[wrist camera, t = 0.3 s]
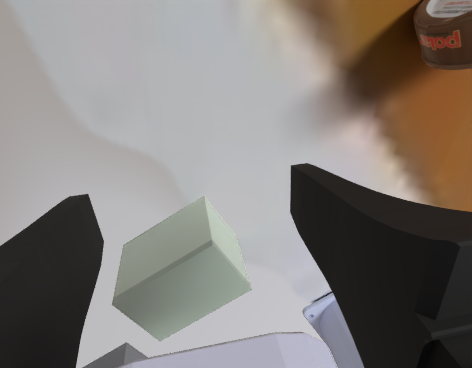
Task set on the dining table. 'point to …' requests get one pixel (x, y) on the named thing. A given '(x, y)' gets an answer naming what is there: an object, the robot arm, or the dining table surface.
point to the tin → (445, 33)
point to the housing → (180, 271)
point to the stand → (117, 357)
